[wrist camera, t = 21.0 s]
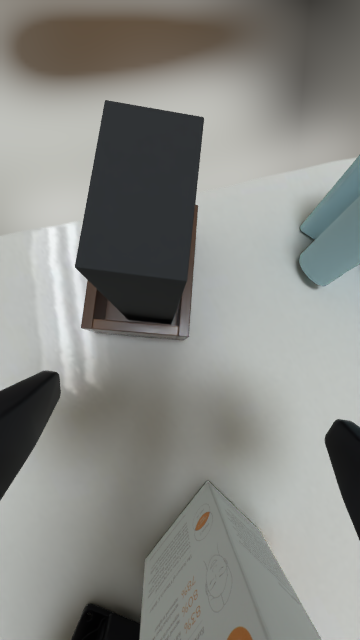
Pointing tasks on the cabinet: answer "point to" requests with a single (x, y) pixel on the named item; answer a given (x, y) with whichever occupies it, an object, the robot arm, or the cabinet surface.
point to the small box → (218, 580)
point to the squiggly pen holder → (334, 231)
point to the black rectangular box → (141, 209)
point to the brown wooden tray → (111, 321)
